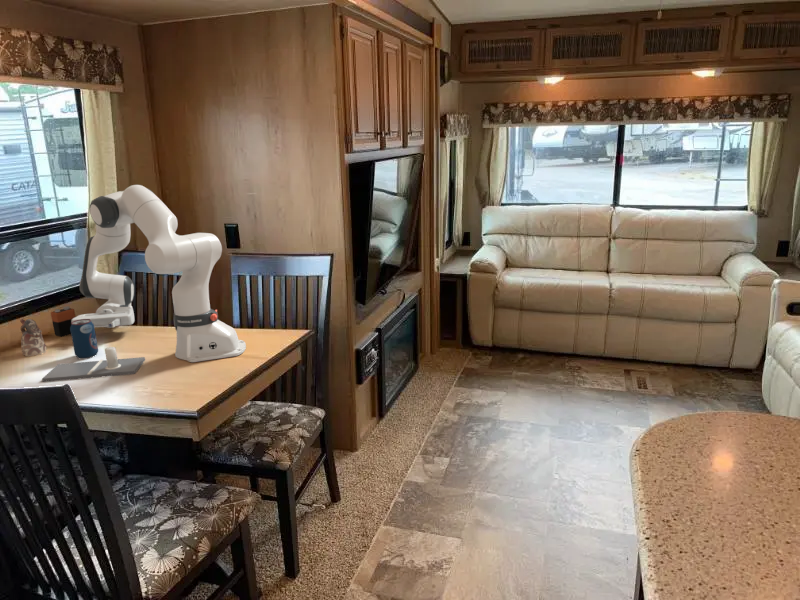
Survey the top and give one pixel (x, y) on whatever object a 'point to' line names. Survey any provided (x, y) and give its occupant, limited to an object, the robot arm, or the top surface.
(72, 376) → the board
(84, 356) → the soda can
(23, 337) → the figurine
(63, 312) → the battery
